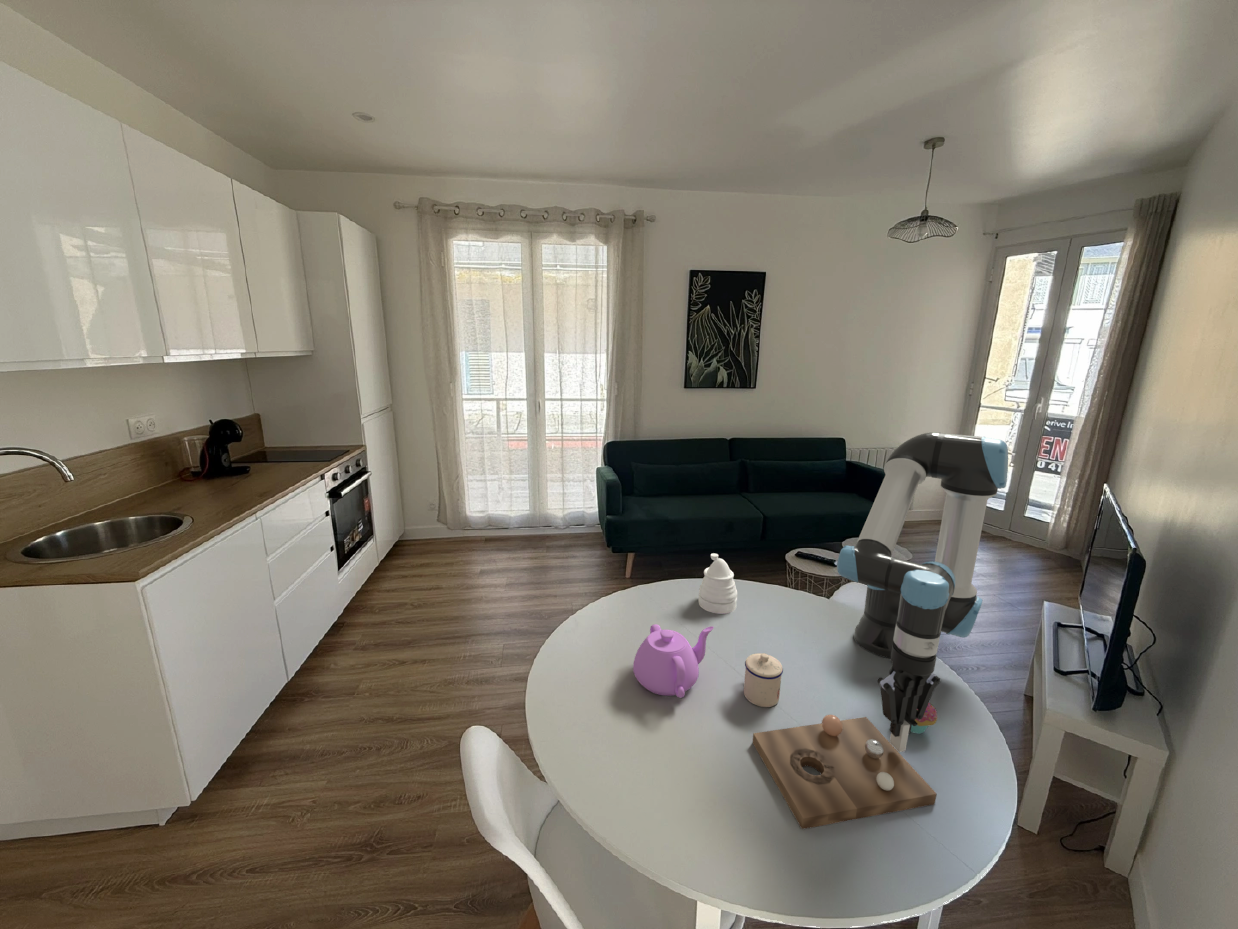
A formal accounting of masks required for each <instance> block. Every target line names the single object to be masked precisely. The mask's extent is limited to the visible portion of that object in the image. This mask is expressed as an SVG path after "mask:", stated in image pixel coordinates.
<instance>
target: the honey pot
mask: <svg viewBox="0 0 1238 929" xmlns="http://www.w3.org/2000/svg"><path fill="white" fill-rule="evenodd" d="M710 558H711V560H713V562H712V563H711V564H710V566H709V567H706V568H705V569H704V570H703V574H704V577H703V578H702V581H701V584H700V585H699V589H698V590H699V591H698V605H699V606H700V607H701V608H702V609H703V610H704V611H707V612H709V613H713V614H719V615H720V614H723V615H724V614H730V613H733V612H734V611H735V610H736V609H737V603H738V590H737V587H736V582H735V579H734V576H735V574H734V571H732V570H731V569H730V567H729V565H728V563H727V562H726V561H725V560H724V559H723V558H720V557H719V554H718V553H714V552H713V553H711V554H710Z"/></svg>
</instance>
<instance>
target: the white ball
mask: <svg viewBox="0 0 1238 929" xmlns="http://www.w3.org/2000/svg"><path fill="white" fill-rule="evenodd" d="M876 780H877V783H878V785H879V786H880V787H881V788H882V789H883V790H887V791H888V790H891V789H892V788H893V787H894V780H893V778H892V777H891V776H890V775H889V774H888V773H886V772H880V773H879V774H878V775H877V778H876Z"/></svg>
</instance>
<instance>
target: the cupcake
mask: <svg viewBox="0 0 1238 929" xmlns="http://www.w3.org/2000/svg"><path fill="white" fill-rule="evenodd" d="M917 711H918V709H917ZM915 721H916V722H917V723H918V724H917V725H916V726H913V725H912V727H911V732H910V733H913V734H924V732H925V731H926V730H927V728H928V727H929V726H934V725H935V724H936V723H937V721H938V711H937V709H936V707H935V706H934V705H933V704H932V703H931V702H930V701H929V703H928V706H927V708H926V711H925V713H924V715H923V718H922V719H920V720H919V719H915Z"/></svg>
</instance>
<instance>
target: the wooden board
mask: <svg viewBox="0 0 1238 929" xmlns="http://www.w3.org/2000/svg"><path fill="white" fill-rule="evenodd" d="M840 721H841V723H842V726H843V729H842V732H841V734H839V735H838V736H830V735H828V734H827V733H826V732H825V731H824V729H823V727H822V722H821V723H815V724H809V725H801V726H794V727H789V728H788V727H787V728H781V729H775V730H767V731H766V730H765V731H759V732H753V735H752V744H753V746H754V748H755V750H756V752H757V753H758V755H759V757H760V758H761V761H762V762H763V764H764V765H765V767H766V769H767V771H768V773H769V774H770V776H771V777H772V780H773V781H774V782H775V785H776V786H777V788H778V790H779V791H780V793H781V795H782V797H783V798H784V800H785V802H786V804H787V806H788V808H789V809H790V811H791V812H792V816H794V819H795V820H796V822H797V823H798V825H799V827H800V828H801V830H805V829H812V828H815V827H822V826H827V825H833V824H837V823H838V824H839V823H843V822H844V823H845V822H848V821H853V820H859V819H864V818H868V817H869V818H870V817H874V816H875V817H876V816H880V815H886V814H891V813H896V812H900V811H901V812H902V811H907V810H912V809H917V808H923V807H927V806H934V805H936V799H937V792H936V791H935V790H934V789H933V788H932V787H931V786H930V785H929V783H927V782H926V780H925V779H923V777H922V776H921V775H920V774H919V773H918V772H917V771H916V769H914V767H913V766H912V765H911V764H910V763H909V762H908V761H907V760H906V759H905V758H904V756H903V755H902V754H901V752H898V751H897V749H896V748H895V747H894V746H893V745H892V744H891V743H890V740H888V739H887V738H886V736H884V735H883V733H881V731H880V730H879V729H878V728H877V727H876V726H875V725H874V724H873V723H872V722H871V720H869V718H867V716H863V717H855V718H850V719H849V718H848V719H840ZM870 739H874V740H877V741H878V742H880V744H881V745H882V747H883V750H884V753H883V755H882V757H881V758H878V759H874V758H872V757H870V756H869V755H868V754H867V753H866V751H865V743H866V741H868V740H870ZM804 767H808V768H813V769H815V770H816V771H817V772H819V774H817V775H815V774H811V773H809V772H807V771H806V770H805V769H804ZM880 772H886V773H888V774H889V775H890V776H891V777H892V778H893V780H894V787H893V788H892V789H891V790H888V791H887V790H883V789H882V788H881V787H880V786H879V785H878V783H877V780H876V778H877V775H878V774H879V773H880Z"/></svg>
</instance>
